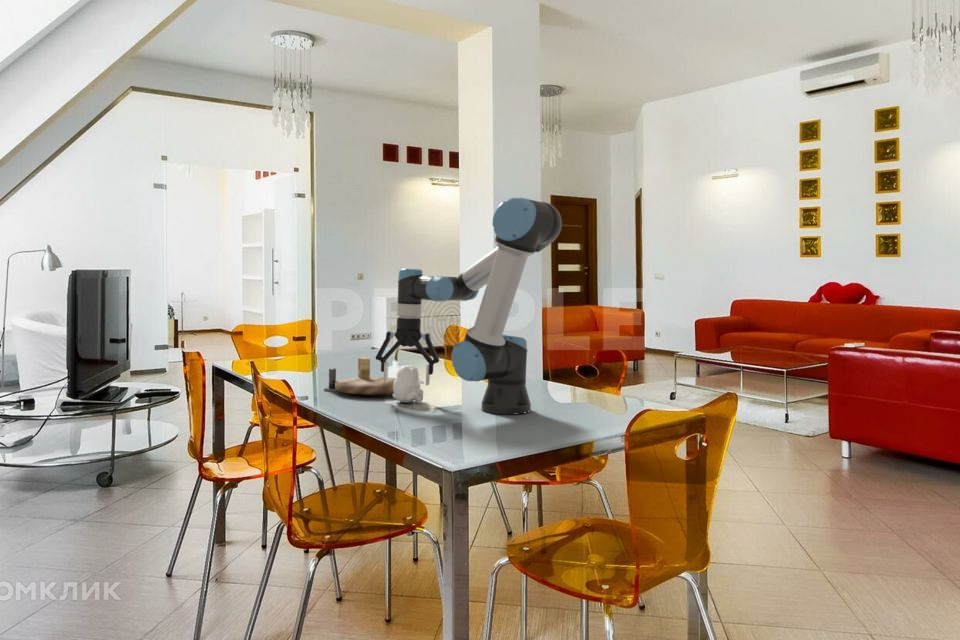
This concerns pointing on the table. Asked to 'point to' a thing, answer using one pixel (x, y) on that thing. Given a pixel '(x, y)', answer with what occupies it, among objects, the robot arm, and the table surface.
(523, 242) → the robot arm
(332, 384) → the base
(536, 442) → the table surface
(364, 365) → the turntable
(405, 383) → the figurine
